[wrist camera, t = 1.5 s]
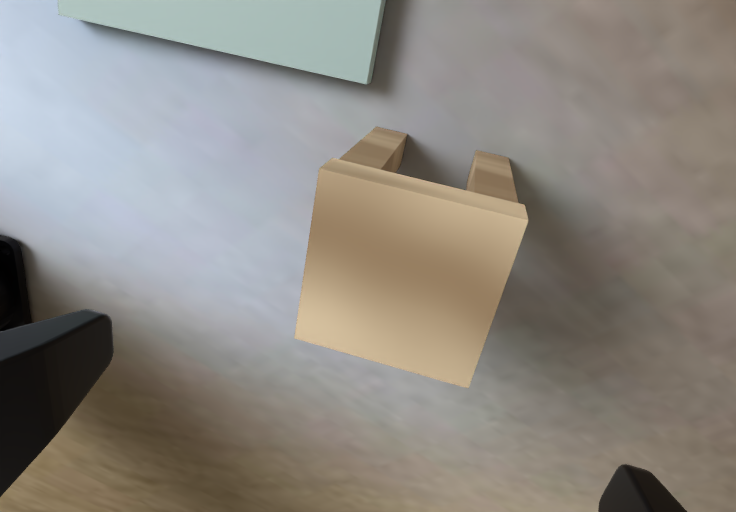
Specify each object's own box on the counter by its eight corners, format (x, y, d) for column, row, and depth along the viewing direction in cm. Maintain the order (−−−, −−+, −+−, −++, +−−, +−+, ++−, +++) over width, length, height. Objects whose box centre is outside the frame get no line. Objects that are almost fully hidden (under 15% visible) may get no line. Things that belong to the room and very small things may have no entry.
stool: (472, 278, 20) (468, 388, 14) (350, 246, 21) (294, 338, 14) (512, 155, 18) (528, 220, 12) (374, 123, 18) (319, 168, 12)
